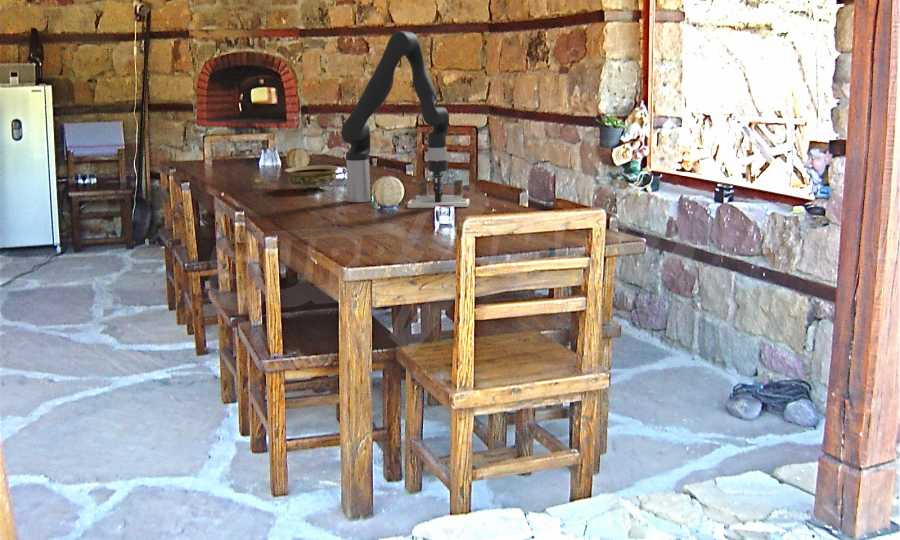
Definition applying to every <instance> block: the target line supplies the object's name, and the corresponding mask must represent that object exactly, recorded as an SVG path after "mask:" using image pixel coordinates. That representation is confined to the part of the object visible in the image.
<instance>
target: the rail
mask: <svg viewBox="0 0 900 540" xmlns="http://www.w3.org/2000/svg"><path fill="white" fill-rule="evenodd" d="M415 199H416V203H435V194H433V195H432V194H431V195H430V194H429V195H420V194H418V195H415ZM441 202H462V195H454V194H442V195H441Z"/></svg>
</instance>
